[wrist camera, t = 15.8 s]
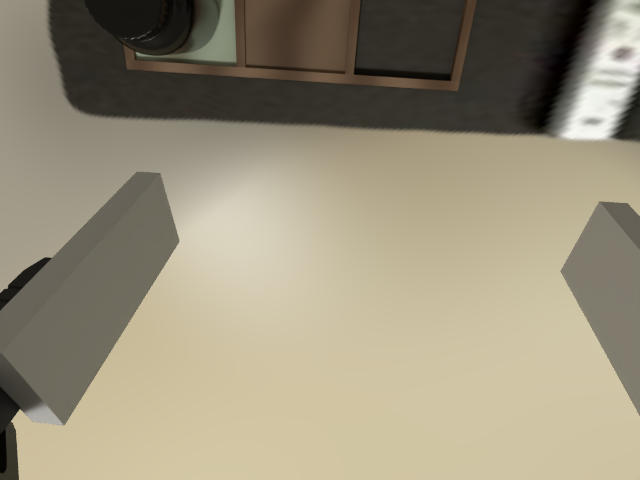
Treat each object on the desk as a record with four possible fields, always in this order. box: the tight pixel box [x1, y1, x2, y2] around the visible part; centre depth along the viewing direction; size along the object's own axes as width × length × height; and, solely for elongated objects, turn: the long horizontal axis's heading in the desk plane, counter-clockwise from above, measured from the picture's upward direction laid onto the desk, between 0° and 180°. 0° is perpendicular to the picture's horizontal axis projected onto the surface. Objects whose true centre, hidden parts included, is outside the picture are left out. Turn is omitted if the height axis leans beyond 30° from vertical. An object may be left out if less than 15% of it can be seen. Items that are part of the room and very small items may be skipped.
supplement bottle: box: [85, 0, 219, 56], centre depth 28 cm, size 7×7×12 cm
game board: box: [124, 0, 477, 91], centre depth 34 cm, size 31×10×1 cm, turn 86°
